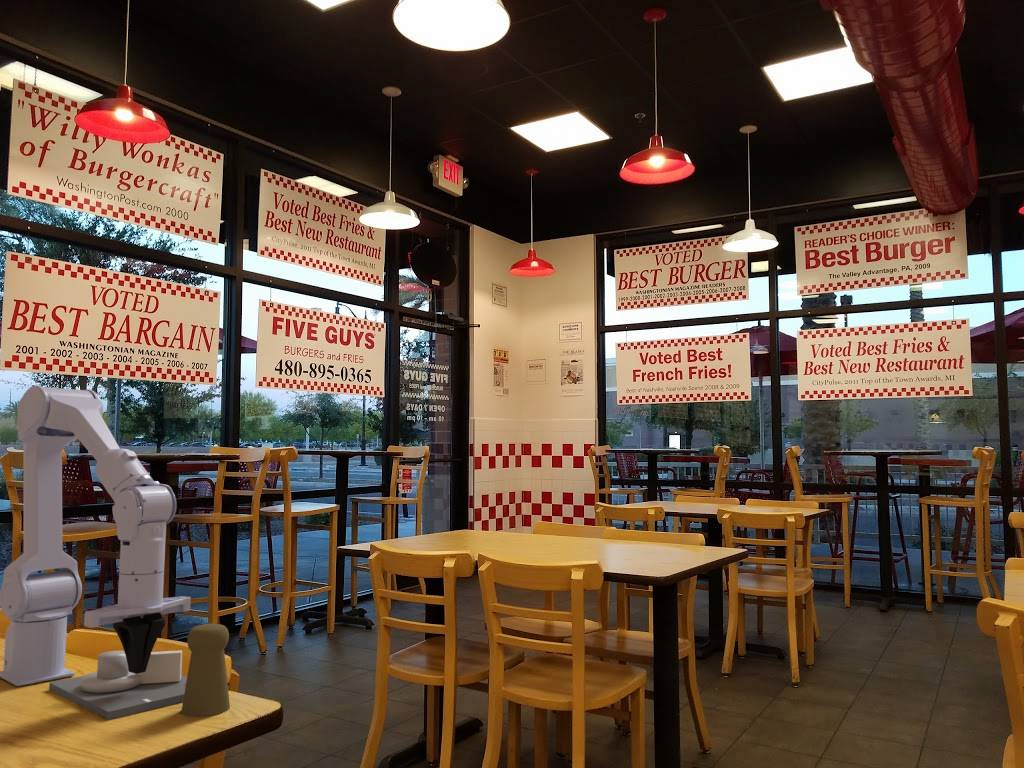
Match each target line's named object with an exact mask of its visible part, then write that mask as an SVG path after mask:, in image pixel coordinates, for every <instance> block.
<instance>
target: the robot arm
mask: <svg viewBox="0 0 1024 768" xmlns="http://www.w3.org/2000/svg"><path fill="white" fill-rule="evenodd" d="M103 411H104V403H103V401H101V400H100V397H99V396H98V394H97V392H96V391H94V390H92V389H73V388H59V387H47V386H45V387H44V386H41V385H32V386H30V387H29V388H27V390H26V391H25V392H24V393H23V395H22V397H21V398H20V399H19V401H18V403H17V438H18V440H19V442H20V441H21V442H22V443H23V444H22V445H23V447H22V448H23V449H22V450H23V456H22V457H23V553H22V554H20V556H18V557H17V558H16V559H15V560H14V561H13V562H11V563H10V564H8V565H7V566H6V567H5V568H4V570H3V579H2V585H1V587H0V610H1V612H2V613H3V614H4V615H5V616H6V618H7V620H8V621H11V622H10V624H9V625H8V627H7V629H6V631H5V636H4V637H5V638H4V654H3V655H4V656H3V657H4V658H3V670H1V671H0V678H1V679H2V680H4V681H6V682H8V683H10V684H12V685H14V686H16V687H20V686H26V685H33V684H36V683H43V682H47V681H53V680H58V679H62V678H68V677H73V676H74V675H76V673H75V671H74V670H70V669H69V668H66V667H65V664H66V645H67V629H68V628H67V627H68V625H67V624H68V615H72V614H73V609H74V608H76V606H77V605H78V604H79V602H80V599H81V597H82V593H83V592H82V591H83V584H82V581H81V578H80V575H79V571H78V570H79V569H78V561H77V560H76V559H74V558H73V556H71V555H69V554H68V553H66V552H65V551H64V549H63V466H62V465H63V460H62V459H63V457H62V456H63V455H62V453H63V450H64V448H66V446H67V445H68V444H70V443H72V442H75V441H77V440H78V441H79V442H80V443H81V444H82V445H83V447H84V448H85V450H87V451H88V452H89V453H90V455H91V456H92V457H93V458H94V460H96V464H95V467H94V474H95V475H96V477H97V478H98V480H99V481H100V483H101V485H102V486H103V487H104V489H105V490H106V492H107V493H108V495H109V496H110V497H111V499H112V500H113V502H114V504H113V505H112V515H113V516H112V517H113V520H114V522H115V525H116V536H117V539H118V540H120V549H119V550H120V551H119V571H118V573H119V574H118V575H119V576H118V587H117V588H118V590H117V592H118V593H117V604H113V605H108V606H103V607H101V608H95V609H92V610H87V611H86V610H85V611H84V618H83V619H84V621H83V626H84V627H85V628H89V629H90V628H91V629H96V628H99V627H100V626H104V625H109V624H112V626H113V627H112V628H113V630H114V631H115V632H116V634H117V636H118V638H119V641H120V643H121V645H122V648H123V651H124V652H125V655H126V659H127V664H128V670H129V672H131V673H135V674H139V673H143V672H146V668H147V665H148V661H149V658H150V655H151V652H153V649H154V648H155V644H156V643H157V640H158V638H159V636H160V634H161V633H162V631H163V630H164V628H165V627H166V624H167V623H166V622H167V618H166V617H163V616H162V615H167V614H172V613H177V612H178V613H179V612H182V613H183V612H190V611H191V602H192V601H191V600H192V599H191V598H192V597H191V596H185V595H184V596H183V595H181V596H173V597H164V583H165V581H164V579H165V560H166V559H165V557H166V539H167V538H166V536H167V525H168V524H169V523H170V522H172V520H173V519H174V517H175V515H176V512H177V499H176V495H175V493H174V491H173V489H172V487H171V486H170V485H168V484H167V483H166V484H164V483H160V482H159V481H158V480H157V481H156V480H154V479H153V477H152V476H151V475H150V474H149V472H148V471H147V470H146V468H145V467H144V465H143V464H142V463H141V461H140V460H139V459H138V455H137V454H136V453H135V451H134V450H130V449H129V448H121V447H120V446H119V445H118V443H117V441H116V439H115V438H114V436H113V434H112V432H111V431H110V428H109V426H108V425H107V423H106V422H105V420H104V419H103V415H104V414H103ZM46 570H52V571H50V572H48V571H47V572H41V573H35V574H34V572H39V571H46ZM32 573H33V574H32Z"/></svg>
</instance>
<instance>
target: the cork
mask: <svg viewBox="0 0 1024 768" xmlns="http://www.w3.org/2000/svg"><path fill="white" fill-rule="evenodd" d="M186 639H187V641H186V642H187V644H186V645H187V647H188V649H189V650H190V652H191V653H190V658H189V665H188V669H187V675H186V677H187V681H186V687H185V693H184V699H183V702H182V706H181V711H180V714H181V715H182V716H185V717H190V718H207V717H213V716H217V715H221V713H222V714H224V713H226V712H228V711H229V710H230V708H231V703H230V694H229V687H228V676H227V666H226V657H225V656H226V655H225V649H226V648H227V646H228V643H229V640H230V633H229V629H228V628H227V627H226V626H225V625H223V624H218V623H204V624H200V625H196V626H193V627H192V628H191V629H190V631H189V632H188V635H187V638H186ZM228 709H229V710H228ZM227 710H228V711H227ZM225 711H226V712H225ZM223 712H224V713H223Z"/></svg>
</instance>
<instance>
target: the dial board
mask: <svg viewBox="0 0 1024 768" xmlns="http://www.w3.org/2000/svg"><path fill="white" fill-rule="evenodd" d="M83 676H84V675H82V676H77V677H71V678H66V679H61V680H55V681H50V682H49V686H48V687H49V688H48V690H49V691H51V692H53V693H54V694H57V695H59V696H60V697H62V698H64V699H66V700H68V701H70V702H72V703H74V704H76V705H78V706H79V707H81V708H83V709H86V710H88V711H89V712H92V713H94V714H95V715H97V716H100V717H102V718H103V719H106V720H107V721H108V720H109V721H110V720H114V719H117V718H122V717H125V716H130V715H134V714H139V713H143V712H146V711H151V710H155V709H159V708H163V707H168V706H172V705H176V704H180V703H183V699H184V693H185V687H186V681H187V675H183V674H181V680H180V681H177V682H162V683H147V684H140V685H139V686H136V687H133V688H130V689H126V690H121V691H115V692H104V693H92V692H85V691H82V690H81V689H80V687H81V678H82V677H83Z"/></svg>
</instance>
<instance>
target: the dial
mask: <svg viewBox="0 0 1024 768" xmlns="http://www.w3.org/2000/svg"><path fill="white" fill-rule="evenodd" d="M182 665H183V650H181V649H180V650H166V651H165V650H163V651H152V652H151V655H150V658H149V661H148V665H147V668H146V672H143V673H139V674H135V673H131V672H129V670H128V664H127V659H126V655H125V652H124V650H110V651H105V652H101V653H99V654H98V655H97V671H94V672H90V673H88V674H85V675H82V676H83V677H82V678H81V687H80V689H81V690H82V691H85V692H92V693H104V692H115V691H121V690H126V689H130V688H133V687H136V686H139V685H140V684H147V683H162V682H177V681H180V680H181V675H182V669H183V668H182V667H183V666H182Z"/></svg>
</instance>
